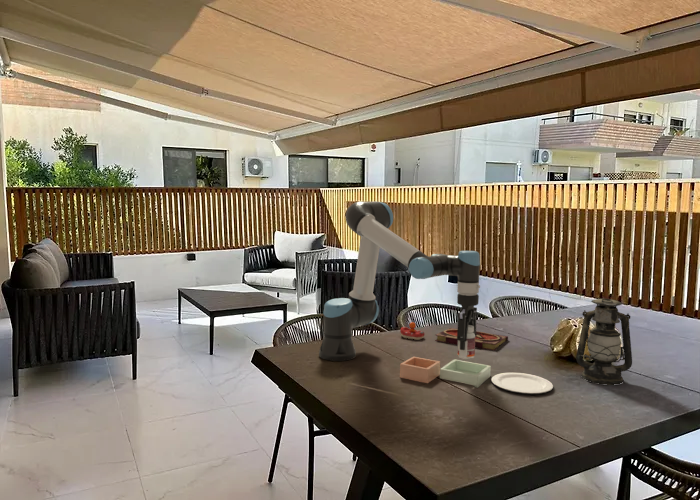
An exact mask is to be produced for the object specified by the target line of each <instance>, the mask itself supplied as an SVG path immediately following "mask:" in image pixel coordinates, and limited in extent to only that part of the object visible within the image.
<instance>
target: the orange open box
mask: <svg viewBox="0 0 700 500" xmlns="http://www.w3.org/2000/svg"><path fill="white" fill-rule="evenodd" d="M440 369H441V361H440V360H435V359H428V358H423V357H418V356H412V357H410V358H408V359H407V360H404V361H403V362H401V363H400V364H399V378H401V379H406V380H410V381H415V382H420V383H423V384H424V383H425V384H429V383H431V382H432V381H434V379H436V378H437V377H440Z"/></svg>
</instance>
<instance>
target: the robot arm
mask: <svg viewBox="0 0 700 500" xmlns="http://www.w3.org/2000/svg"><path fill="white" fill-rule="evenodd" d="M345 222H346V224H347V226H348V227H349V229H350V230H352V231H353V232H354V233H355V234H356V235H358V236H359V237H360V239H359V247H358V255H357V260H356V261H357V262H356V267H355V275H354V282H353V287H352V288H353V289H352V290H351V291H350V292H349V293H348V298H347V297H346V298H345V297H338V298H332V299H329V300H327V301H326V302H325V303H324V305H323V338H322V342H321V345H320V347H319V351H318V352H319V355H318V356H319V357H320V358H321V359H322V360H327V361H332V362H333V361H334V362H342V361H344V362H345V361H349V360H352V359H355V357H356V348H355V345H354V342H353V337H352V336H353V335H352V333H353V332H352V331H353V329H354V328H358V327H363V326H367V325H370V324H372V323H373V322H375V321H376V319H377V318H378V316H379V313H380V306H379V305H378V301H377V300H376V297H377V296H376V295H375V294H374V293H373V292H374V288H375V283H376V282H375V281H376V275H377V268H378V260H379V254H380V250H383V251H385V252H386V253H387V254H388V255H390V256H392V257H393V258H394V259H396V260H397V261H398V262H400V263H401V264H403V265H404V266H405V267H407V268H408V270H409V273H410V275H411V277H412V278H414V279H416V280H426V279H429V278H435V277H440V276H453V277H457V289H456V290H457V293H458V294H457V299H456V300H457V301H456V302H457V304H458V305H459V306H461V307H460V312H458V313H457V329H458V330H457V340H459V356H458V359H463V360H467V359H468V358H467V341H466V339H467V332H468V325H472V326H474V332H473V333H474V334H475V337H476V335H477V334H476V331H477V313H478V312H477V311H478V308H477V307H476V306H477V305H479V299H480V298H479V292H480V291H479V290H480V288H481V285H480V265H481V262H480V261H481V259H480V253H479V252H478V251H477V250H460V251H458V255H453V254H452V255H451V254H443V253H433V254H431V256H429V255H427V254H425V253H424V252H422V251H421V250H419V249H418V248H416V247H415V246H414V245H412V244H411V243H409V242H408V241H407V240H405V239H403V238H402V237H400V236H399V235H398V234H396V233H395V232H393V231H392V230H391V229H389V228H390V227H391V226H392V225H393V222H394V213H393V211H392V209H391V207H390V206H389V205H388V204H387V203H385V202H382V201H381V202H380V201H356V202H354V203H352V204H351V205H349V206H348V208H347V210H346V213H345Z"/></svg>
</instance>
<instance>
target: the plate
mask: <svg viewBox="0 0 700 500" xmlns="http://www.w3.org/2000/svg"><path fill="white" fill-rule="evenodd" d="M491 383H493V385H494V386H496V387H498V388H499V389H502V390H504V391H509V392H513V393H517V394H525V395H540V394H546V393H549V392H551V391H552V390H553V387H554V385H553V383H552V382H551V381H549V380H548V379H546V378H543V377H541V376H538V375H534V374H530V373H523V372H503V373H498V374H494V375H493V376H492V377H491Z"/></svg>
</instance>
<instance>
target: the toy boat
mask: <svg viewBox="0 0 700 500" xmlns="http://www.w3.org/2000/svg"><path fill="white" fill-rule="evenodd" d="M408 326H409V327H407V326H402V327H400V329H399V331H400V336H401V337H402V338H403V339H407V338H408V339H409V340H413V339H414V341H420V340H422V339H423V338H424V337H425V335H426V333H425V332H424V331H422V330H419V329H418V330H417V329H415V328H416V326H417V325H416V323H415V322H413V321H412V322H410V323H409V324H408Z"/></svg>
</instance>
